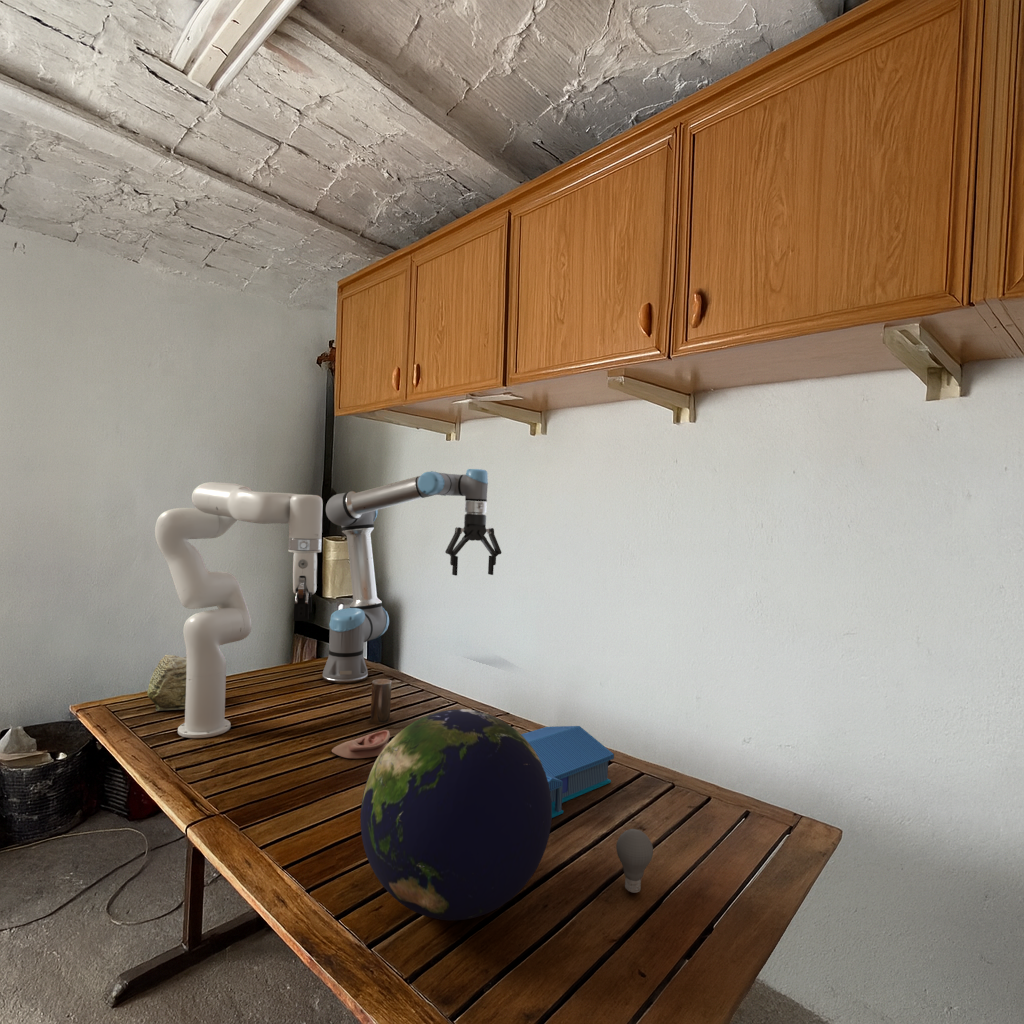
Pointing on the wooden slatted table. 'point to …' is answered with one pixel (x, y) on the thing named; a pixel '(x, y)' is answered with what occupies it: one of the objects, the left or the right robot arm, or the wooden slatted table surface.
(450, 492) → the right robot arm
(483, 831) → the globe
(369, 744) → the anatomical model
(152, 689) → the fossil
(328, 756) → the wooden slatted table surface
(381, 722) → the can
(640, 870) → the light bulb
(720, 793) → the wooden slatted table surface
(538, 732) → the model building
